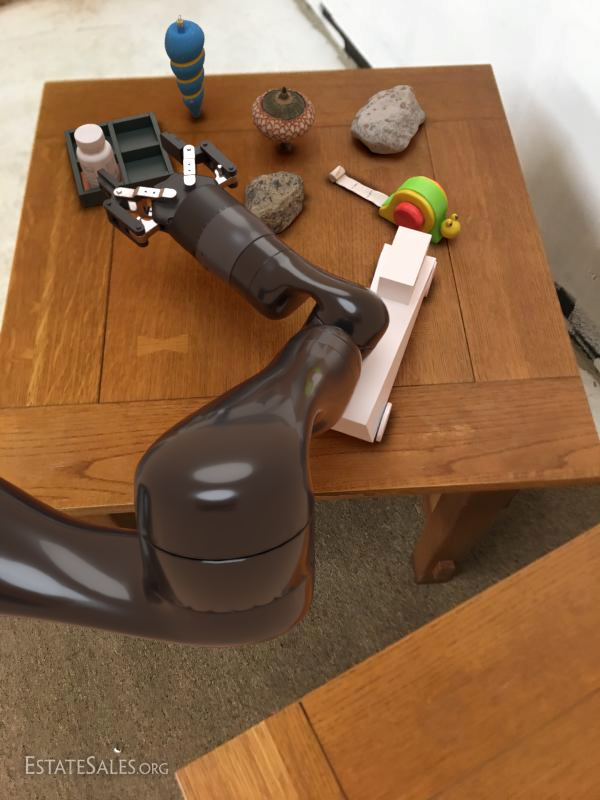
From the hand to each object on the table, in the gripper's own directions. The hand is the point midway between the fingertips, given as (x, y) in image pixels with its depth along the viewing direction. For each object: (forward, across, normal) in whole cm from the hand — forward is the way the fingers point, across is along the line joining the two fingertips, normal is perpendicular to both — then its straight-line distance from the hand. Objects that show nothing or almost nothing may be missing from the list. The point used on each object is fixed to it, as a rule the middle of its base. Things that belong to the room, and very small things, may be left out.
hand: (132, 157), depth 73 cm
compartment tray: (+12, -4, +12) cm, 17 cm away
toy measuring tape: (-19, -25, +12) cm, 33 cm away
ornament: (+12, -18, +12) cm, 25 cm away
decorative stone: (-8, -35, +12) cm, 38 cm away
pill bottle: (+10, 0, +11) cm, 15 cm away
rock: (-8, -14, +12) cm, 20 cm away
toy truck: (-32, -8, +12) cm, 35 cm away
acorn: (-1, -22, +12) cm, 25 cm away
